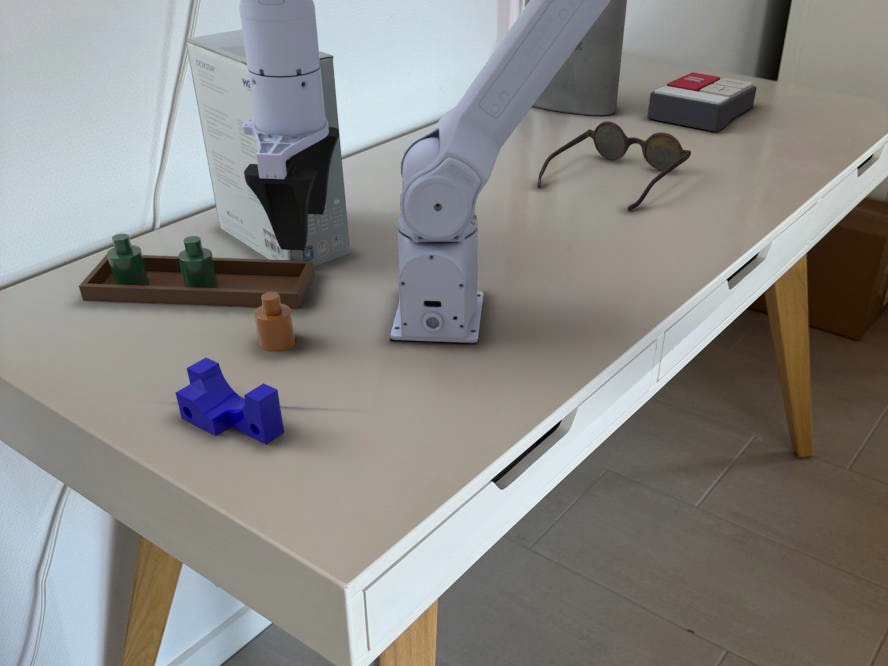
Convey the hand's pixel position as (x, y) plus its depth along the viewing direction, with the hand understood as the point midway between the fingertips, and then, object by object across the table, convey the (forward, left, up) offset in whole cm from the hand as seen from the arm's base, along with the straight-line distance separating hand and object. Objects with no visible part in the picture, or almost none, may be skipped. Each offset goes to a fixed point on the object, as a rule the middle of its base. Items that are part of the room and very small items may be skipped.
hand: (303, 230), depth 81 cm
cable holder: (-18, +3, -9) cm, 20 cm away
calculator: (+67, -45, -9) cm, 81 cm away
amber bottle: (-5, +2, -9) cm, 10 cm away
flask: (+68, -25, -9) cm, 72 cm away
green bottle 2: (+5, +12, -8) cm, 15 cm away
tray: (+5, +12, -9) cm, 16 cm away
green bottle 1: (+5, +19, -8) cm, 21 cm away
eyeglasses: (+38, -30, -9) cm, 49 cm away
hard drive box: (+16, +7, -9) cm, 20 cm away
